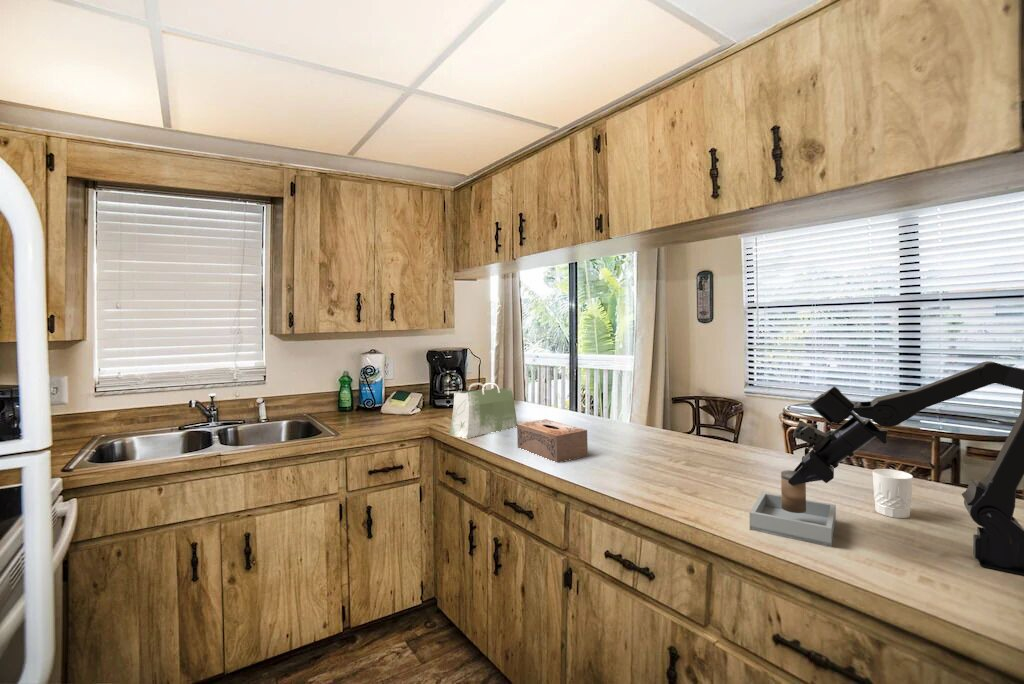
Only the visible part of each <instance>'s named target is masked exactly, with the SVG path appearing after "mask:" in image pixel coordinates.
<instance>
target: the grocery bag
mask: <svg viewBox="0 0 1024 684" xmlns="http://www.w3.org/2000/svg"><path fill="white" fill-rule="evenodd" d="M478 385H479V386H481V387H482V388H481V389H472V388H473V386H474V387H475V386H478ZM488 385H493V386H495V387H494V388H485V387H486V386H488ZM471 389H472V390H471ZM517 424H518V421H517V412H516V406H515V399H514V395H513V391H512V387H507V388H500V387H499V386H498V384H497V383H495V382H486V383H484V384H483V383H482V382H474V383H471V384H470V385H469V386H468V389H466V390H461V391H455V392H454V393H453V407H452V416H451V422H450V428H449V433H448V436H452V437H456V438H460V437H462V439H464V438H466V439H465V440H468V438H469V439H472V438H471V437H473V438H475V436H476V437H479V436H478V435H480V436H483V435H482V434H485V435H488V434H487V433H490V434H492V433H491V432H495V433H497V432H496V431H499V432H502V431H501V430H504V431H507V430H506V429H508V430H511V429H510V428H512V429H514V428H513V427H515V428H517V427H516V426H517Z"/></svg>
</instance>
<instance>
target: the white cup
mask: <svg viewBox="0 0 1024 684" xmlns="http://www.w3.org/2000/svg"><path fill="white" fill-rule="evenodd" d="M913 481H914V475H912V474H910V472H909V473H908V472H906V471H902V470H897V469H890V468H875V469H873V470H872V487H873V488H872V489H873V500H874V505H875V507H874V508H875V512H877V513H878V514H880V515H883V516H886V517H890V518H893V519H907V518H910V517H911V516H910V515H911V505H912V498H913V485H914V483H913Z"/></svg>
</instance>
